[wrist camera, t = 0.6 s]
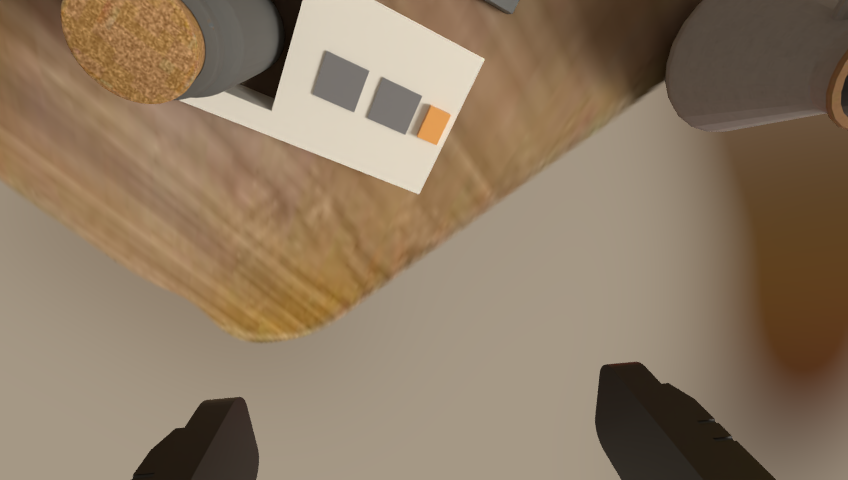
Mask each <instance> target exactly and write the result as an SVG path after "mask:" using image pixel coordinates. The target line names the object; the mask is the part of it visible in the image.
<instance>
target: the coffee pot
mask: <svg viewBox="0 0 848 480" xmlns="http://www.w3.org/2000/svg"><path fill="white" fill-rule="evenodd" d="M665 83H666V88H667V93H668V98H669V99H670V102H671V103H672V105H673V107H674V109H675V111H676V112H677V114H678V116H679V117H681V118H682V119H683V120H684V121H685V122H687V123H688V124H689V125H690V126H692V127H695V128H698V129H701V130H704V131H730V130H735V129H741V128H746V127H752V126H758V125H763V124H769V123H775V122H780V121H785V120H791V119H797V118H802V117H807V116H813V115H818V114H825V113H827V114H828V116H829V118H830V119H831V120H832V121H833V122H834V123H835V124H836V125H837V126H838V127H841V128H843V129H846V130H848V0H703V1H702V2H701V3H699V4H698V5H697V6H696V8H695V9H694V10H693V12H692V13H691V14H690V15H689V17H688V18H687V19H686V20H685V22H684V23H683V25H682V27H681V29H680V30H679V32H678V34H677V36H676V38H675V40H674V42H673V44H672V47H671V51H670V54H669V57H668V60H667V65H666V79H665Z"/></svg>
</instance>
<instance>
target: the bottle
mask: <svg viewBox="0 0 848 480" xmlns="http://www.w3.org/2000/svg"><path fill="white" fill-rule="evenodd" d="M60 17H61V23H62V29H63V33H64V36H65V39H66V42H67V44H68V46H69V48H70V50H71V52H72V54H73V56H74V57H75V59H76V60H77V62H78V63H79V64H80V65H81V67H82V68H83V69H84V70H85V71H86V73H87V74H88V75H90V76H91V77H92V78H93V79H94V80H95V81H96V82H97V83H98V84H100V85H101V86H102V87H104V88H105V89H107V90H108V91H110V92H112V93H114V94H116V95H117V96H120V97H122V98H124V99H127V100H130V101H134V102H138V103H145V104H159V103H164V102H168V101H171V100H182V99H187V98H202V97H209V96H213V95H216V94H219V93H221V92H224V91H226V90H228V89H230V88H232V87H234V86H236V85H238V84H240V83H242V82H244V81H246V80H248V79H250V78H252V77H254V76H256V75H258V74H260V73H261V72H263V71H265V70H267V69H268V68H270V67H271V66H272V65H273V64H274V63H275V62H276V61H277V60H278V58H279V57H280V55H281V53H282V50H283V46H284V41H285V33H284V26H283V22H282V19H281V16H280V14H279V12H278V10H277V9H276V7H275V5H274V4H273V2H272V1H271V0H62V3H61V15H60Z"/></svg>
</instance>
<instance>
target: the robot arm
mask: <svg viewBox="0 0 848 480" xmlns="http://www.w3.org/2000/svg"><path fill="white" fill-rule="evenodd" d="M595 425H596V431H597V435H598V438H599V441H600V443H601V445H602V448H603V450H604V451H605V453H606V455H607V456H608V458H609V459H610V461H611V463H612V465H613V466H614V468H615V470H616V471H617V473H618V475H619V476H620V478H621V480H776V479H775V478H774V477H773V476H772V475H771V474H770V473H769V472H768V471H767V470H766V469H765V468H764V467H763V466H762V465H761V464H759V462H758V461H757V460H756V459H754V458H753V456H752V455H750V454H749V453H748V452H747V451H746V450H745V449H744V448H743V447H742V446H741V445H740V444H739V443H738V442H737V441H734V440H733V439H732V436H731V435H730V434H729V433H728V432H727V431H726V430H725V429H724V428H723V427H722V426H721V425H720V424H719V423H716V422H715V419H714V418H713V417H712V416H711V415H710V414H709V413H708V412H707V411H706V410H705V409H704V408H703V407H702V406H701V405H700V404H699V403H698V402H697V401H696V400H695V399H694V398H692V397H690V396H689V395H687V394H685V393H684V392H682V391H680V390H679V389H677V388H675V387H674V386H672V385H670V384H669V383H666V384H661V383H660V382H659V381H658V380H657V379H656V378H655V377H654V376H653V374H652V373H651V372H650V371H649V370H648V369H647V368H646V367H645V366H644V365H643V364H641V363H639V362H628V363H618V364H607V365H603V366H602V368H601V370H600V376H599V386H598V396H597V406H596V415H595ZM258 465H259V453H258V448H257V444H256V440H255V436H254V432H253V428H252V424H251V420H250V417H249V412H248V408H247V405H246V402H245V400H244V399H243V398H241V397H235V398H224V399H214V400H206V401H203V402H202V403H201V404H200V405H199V407H198V408H197V410H196V411H195V413H194V414H193V416H192V417H191V419H190V420H189V422H188V423H187V425H186V426H185V428H176V429H175V430H173V431H172V432H171V433H170V434H169V435H168V436H166V437H165V438H164V439H163V440H162V441H161V442H160V443H159V444H157V445H156V446H155V447H154V448H153V449H151V451H150V452H149V453H148V455H147V456H146V458H145V459H144V460H143V462H142V463H141V465H140V466H139V467H138V469H137V470H136V472H135V473H134V474H133V479H132V480H256V478H257V473H258Z"/></svg>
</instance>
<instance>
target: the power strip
mask: <svg viewBox="0 0 848 480" xmlns="http://www.w3.org/2000/svg"><path fill="white" fill-rule="evenodd" d="M484 60H485V59H484V58H482V57H480V56H478V55H476V54H474V53H472V52H471V51H469V50H467V49H465V48H463V47H461V46H459V45H457V44H456V43H454V42H452V41H450V40H448V39H446V38H444V37H442V36H441V35H439V34H437V33H435V32H433V31H431V30H429V29H427V28H426V27H424V26H422V25H420V24H418V23H416V22H414V21H412V20H411V19H409V18H407V17H405V16H403V15H401V14H399V13H397V12H396V11H394V10H392V9H390V8H388V7H386V6H384V5H382V4H381V3H379V2H377V1H375V0H303V1H302V4H301V8H300V11H299V15H298V19H297V22H296V26H295V29H294V33H293V36H292V40H291V43H290V47H289V51H288V54H287V58H286V61H285V65H284V68H283V72H282V76H281V79H280V83H279V86H278V90H277V93H276V97H275V99H274V98H272V97H269V96H267V95H264V94H262V93H260V92H257V91H255V90H253V89H250V88H248V87H245V86H243V85H241V84H238V85H236V86H234V87H232V88H230V89H228V90H226V91H224V92H221V93H219V94H216V95H213V96H209V97H202V98H187V99H182V100H179V101H182V102H184V103H187V104H189V105H192V106H195V107H197V108H200V109H202V110H205V111H207V112H210V113H212V114H215V115H218V116H220V117H223V118H225V119H228V120H230V121H233V122H235V123H238V124H241V125H243V126H246V127H248V128H251V129H253V130H256V131H258V132H261V133H264V134H266V135H269V136H271V137H274V138H276V139H279V140H281V141H284V142H287V143H289V144H292V145H294V146H297V147H299V148H302V149H304V150H307V151H310V152H312V153H315V154H317V155H320V156H322V157H325V158H327V159H330V160H333V161H335V162H338V163H340V164H343V165H345V166H348V167H350V168H353V169H356V170H358V171H361V172H363V173H366V174H368V175H371V176H373V177H376V178H379V179H381V180H384V181H386V182H389V183H391V184H394V185H396V186H399V187H402V188H404V189H407V190H409V191H412V192H414V193H417V194H420V192H421V189H422V187H423V185H424V183H425V181H426V179H427V177H428V175H429V173H430V171H431V169H432V167H433V165H434V163H435V161H436V159H437V157H438V154H439V152H440V150H441V148H442V146H443V144H444V142H445V140H446V138H447V136H448V134H449V132H450V130H451V128H452V126H453V124H454V122H455V120H456V117H457V115H458V113H459V111H460V109H461V107H462V105H463V103H464V101H465V99H466V97H467V95H468V93H469V91H470V89H471V87H472V85H473V82H474V80H475V78H476V76H477V74H478V72H479V70H480V68H481V66H482V64H483V62H484Z"/></svg>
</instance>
